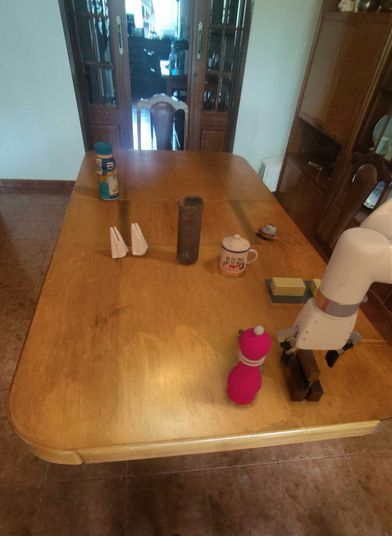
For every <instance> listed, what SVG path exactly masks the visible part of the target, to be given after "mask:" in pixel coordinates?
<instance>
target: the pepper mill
mask: <svg viewBox="0 0 392 536" xmlns="http://www.w3.org/2000/svg"><path fill="white" fill-rule="evenodd" d="M239 336H240V335H239ZM272 346H273V342H272V337H271V335H270V334H269V332H267V331H266V330H265V329H264V327H263V325H260V324H259V325H256V326H254V327H250V328H247V329H246V330H244V332H243V333H242V334H241V336H240V338H239V339H238V348H239V350H238V359H239V360H238V363H237V364H236V365H234V366H233V367H232V368H231V369H230V370H229V372H228V375H227V378H226V384H227V388H226V395H227V397H228V399H229V400H230V401H231V402H233V403H234V404H236V405H239V406H240V405H241V406H246V405H250V404H252V403H253V402H254V400H255V398H256V395H258V393H259V392H260V390H261V388H262V383H263V377H262V374H261V371H260V364H263V363H264V362H265V358H266V356H267V355H268V354H269V353H270V352H271V350H272Z"/></svg>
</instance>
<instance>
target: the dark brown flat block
mask: <svg viewBox="0 0 392 536" xmlns="http://www.w3.org/2000/svg"><path fill="white" fill-rule="evenodd" d="M295 357H296V360H297V363H298V366H299V368H300V371H301V374H302V377H303V380H304V383H305V386H306V389H307V391H308V390H309V388H310V386H311V384H312V382H313V381H317V380H318V378H319V379H320V376H321V371H320V368H319V365H318V363H317V361H316V357H315V355H314V353H313V350H308V349H298V350H296V353H295Z"/></svg>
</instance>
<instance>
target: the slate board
mask: <svg viewBox="0 0 392 536" xmlns="http://www.w3.org/2000/svg"><path fill="white" fill-rule="evenodd" d="M302 280H303V279H302ZM264 282H265V285H266V286H265V287H266V288H267V292H268V295H269V298H270V301H271V303H272V304H288V305H289V304H292V305H305V304H306V302H307V301H308V300H309V299H310V298H314V297H315V296H313V294H312V292H311V290H310V288H309V287H310V284H311V282H312V280H303V282H304V284H305V286H306V289H305V291H304V294H303V296H286V295H273V293H272V290H271V287H270V285H271V282H272V278H264Z"/></svg>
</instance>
